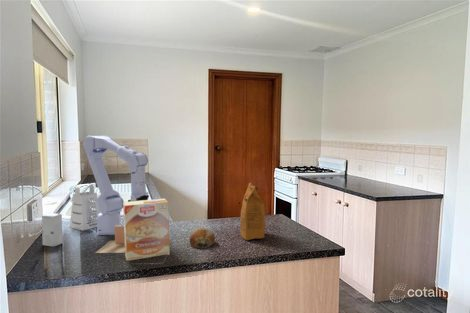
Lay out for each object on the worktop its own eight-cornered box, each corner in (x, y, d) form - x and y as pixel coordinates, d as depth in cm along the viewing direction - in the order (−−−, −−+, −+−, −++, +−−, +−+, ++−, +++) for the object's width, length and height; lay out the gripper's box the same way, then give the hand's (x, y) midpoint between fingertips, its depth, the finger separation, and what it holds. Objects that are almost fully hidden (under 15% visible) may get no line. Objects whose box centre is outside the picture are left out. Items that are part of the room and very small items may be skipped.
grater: (102, 225, 158) (101, 184, 156) (82, 230, 149) (80, 187, 147) (89, 222, 163) (88, 182, 162) (69, 227, 154) (67, 185, 153)
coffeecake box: (126, 262, 111) (124, 205, 109) (124, 255, 117) (122, 201, 116) (170, 255, 116) (168, 201, 115) (166, 248, 123) (164, 197, 122)
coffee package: (261, 231, 143) (260, 181, 141) (267, 240, 131) (266, 186, 129) (239, 232, 142) (238, 182, 140) (242, 241, 130) (241, 187, 128)
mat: (95, 253, 119) (94, 252, 119) (110, 241, 133) (110, 240, 133) (133, 253, 118) (133, 252, 118) (144, 241, 132) (144, 240, 132)
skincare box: (42, 245, 129) (40, 215, 128) (51, 241, 133) (49, 212, 132) (54, 246, 127) (52, 216, 126) (63, 243, 131) (61, 213, 130)
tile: (114, 243, 128) (114, 226, 128) (116, 242, 130) (115, 225, 129) (132, 243, 128) (131, 226, 128) (133, 242, 130) (133, 225, 129)
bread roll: (217, 251, 129) (220, 231, 132) (207, 248, 120) (210, 226, 123) (194, 249, 133) (197, 229, 135) (183, 246, 124) (187, 224, 126)
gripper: (142, 184, 128) (143, 218, 129) (152, 179, 142) (153, 210, 143) (124, 185, 128) (126, 219, 129) (136, 179, 143) (137, 210, 143)
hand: (139, 214), depth 136 cm, fingers open, 7 cm apart
